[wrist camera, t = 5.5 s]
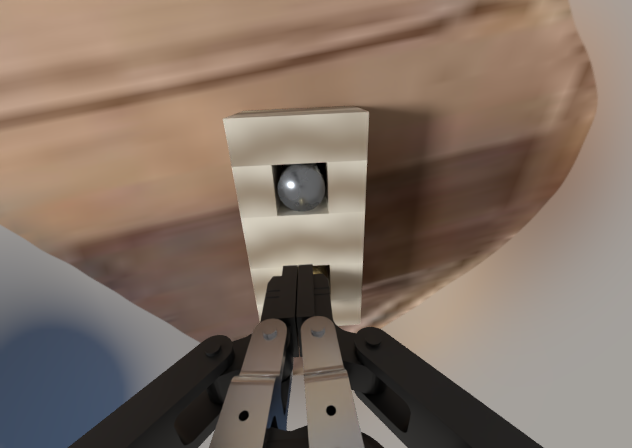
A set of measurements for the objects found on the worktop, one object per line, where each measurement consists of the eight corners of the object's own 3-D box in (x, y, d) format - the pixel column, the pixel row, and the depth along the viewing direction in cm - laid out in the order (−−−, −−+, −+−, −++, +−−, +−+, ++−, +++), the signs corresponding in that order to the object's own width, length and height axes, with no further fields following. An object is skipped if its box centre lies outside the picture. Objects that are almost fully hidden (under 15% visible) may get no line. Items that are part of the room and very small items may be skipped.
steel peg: (281, 151, 31) (275, 167, 25) (320, 149, 31) (324, 165, 25) (285, 188, 33) (280, 212, 26) (321, 186, 33) (325, 210, 27)
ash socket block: (243, 111, 30) (223, 118, 22) (353, 105, 30) (369, 111, 23) (269, 286, 40) (261, 330, 33) (350, 282, 40) (360, 324, 33)
